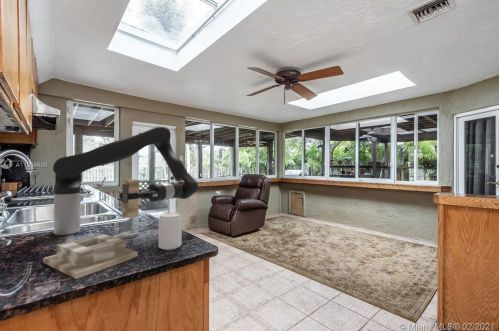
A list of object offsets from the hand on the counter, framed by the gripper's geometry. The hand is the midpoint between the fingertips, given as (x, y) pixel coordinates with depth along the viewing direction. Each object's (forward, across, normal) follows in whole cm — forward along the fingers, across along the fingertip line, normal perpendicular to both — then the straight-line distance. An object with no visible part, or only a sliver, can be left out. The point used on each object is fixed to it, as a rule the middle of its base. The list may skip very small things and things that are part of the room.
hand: (124, 196), depth 89 cm
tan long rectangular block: (-3, 0, +8) cm, 8 cm away
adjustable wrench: (+1, -11, +19) cm, 22 cm away
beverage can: (-8, +16, +18) cm, 26 cm away
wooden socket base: (+13, +4, +18) cm, 23 cm away
